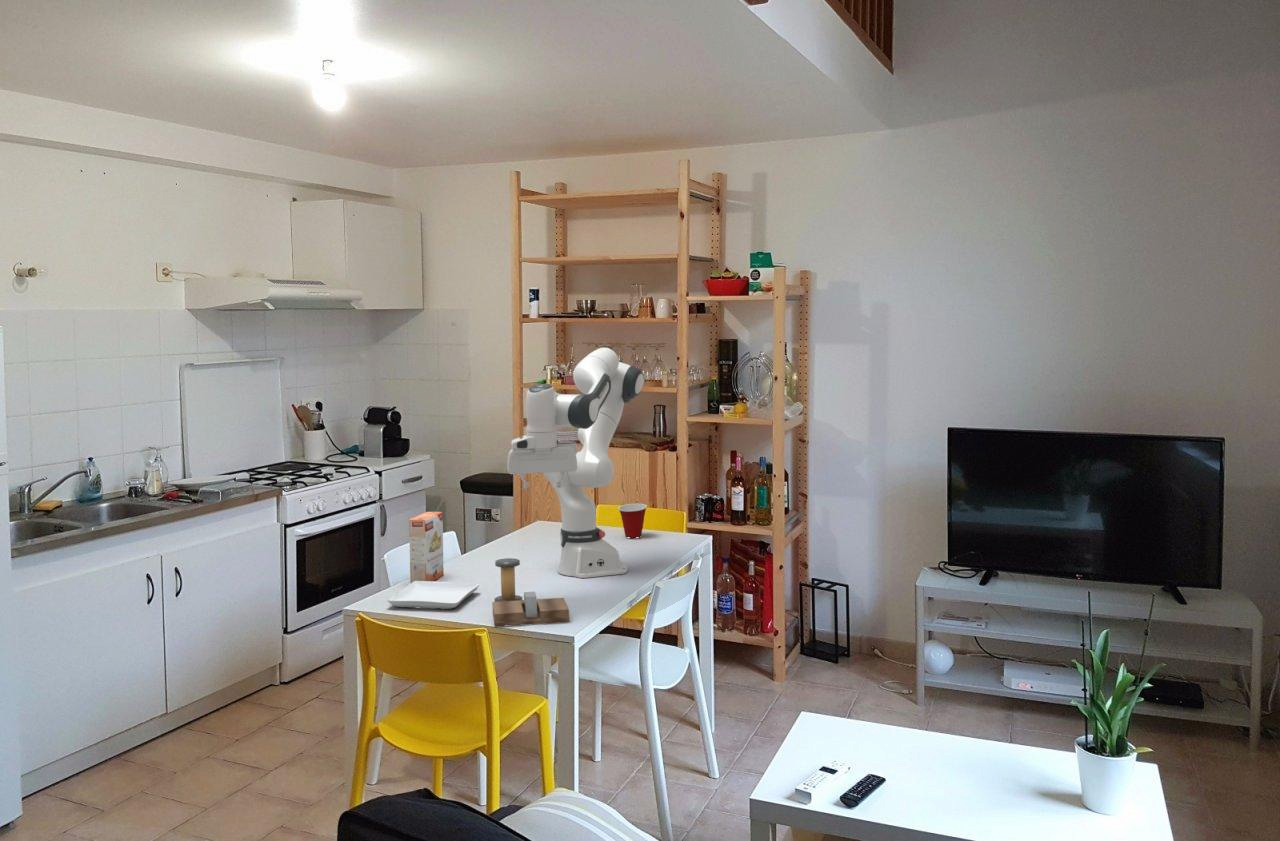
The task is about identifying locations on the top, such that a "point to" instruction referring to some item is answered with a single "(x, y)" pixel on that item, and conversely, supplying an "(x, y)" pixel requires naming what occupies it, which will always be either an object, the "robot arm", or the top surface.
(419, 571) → the cracker box
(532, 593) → the steel tab
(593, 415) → the robot arm
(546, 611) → the notched board
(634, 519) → the plastic cup
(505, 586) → the bobbin
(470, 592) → the salad plate
